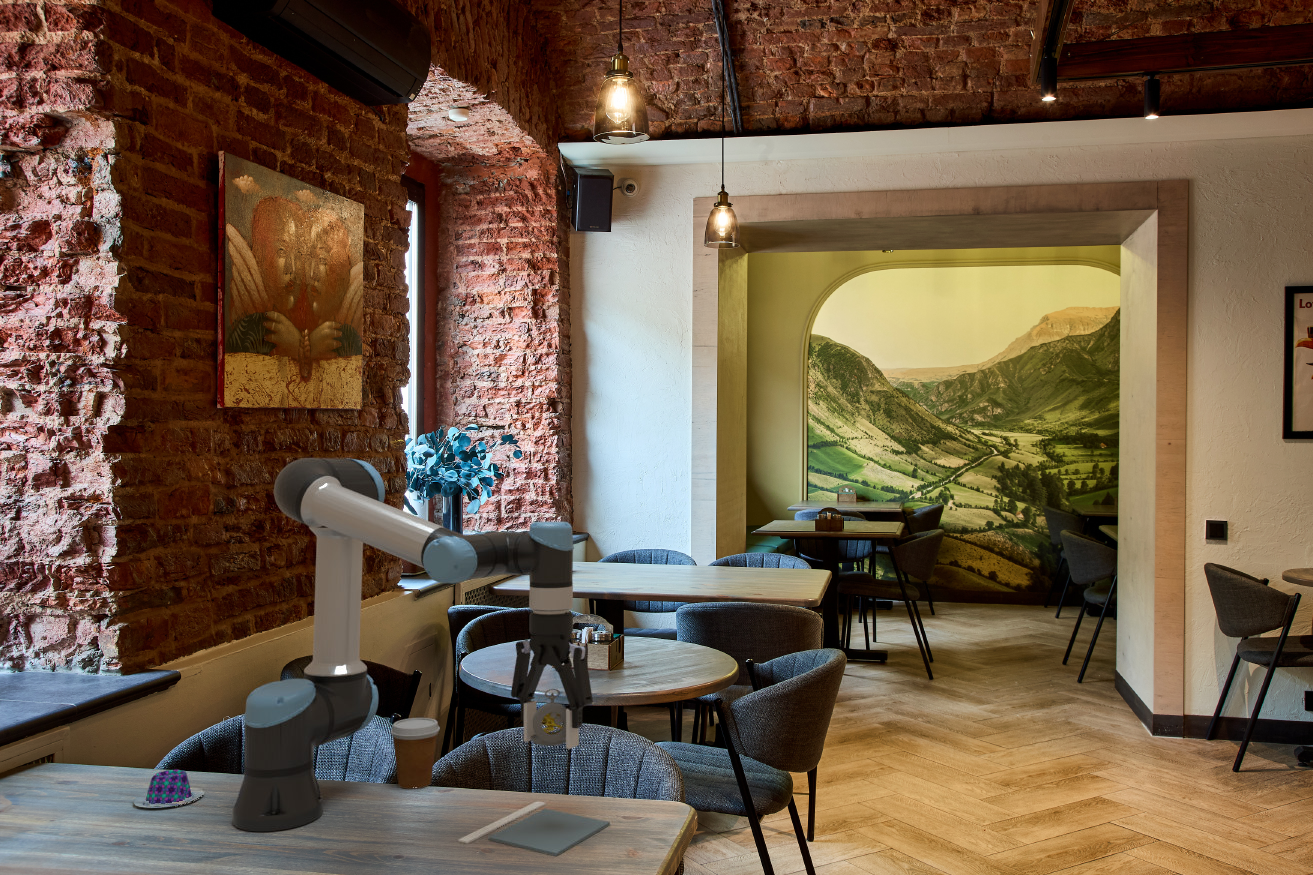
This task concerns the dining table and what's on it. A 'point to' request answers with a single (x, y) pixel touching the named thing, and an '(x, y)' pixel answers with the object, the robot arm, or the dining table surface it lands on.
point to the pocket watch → (550, 723)
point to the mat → (549, 831)
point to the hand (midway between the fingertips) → (551, 742)
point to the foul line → (500, 823)
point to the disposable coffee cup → (415, 751)
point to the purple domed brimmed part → (169, 787)
